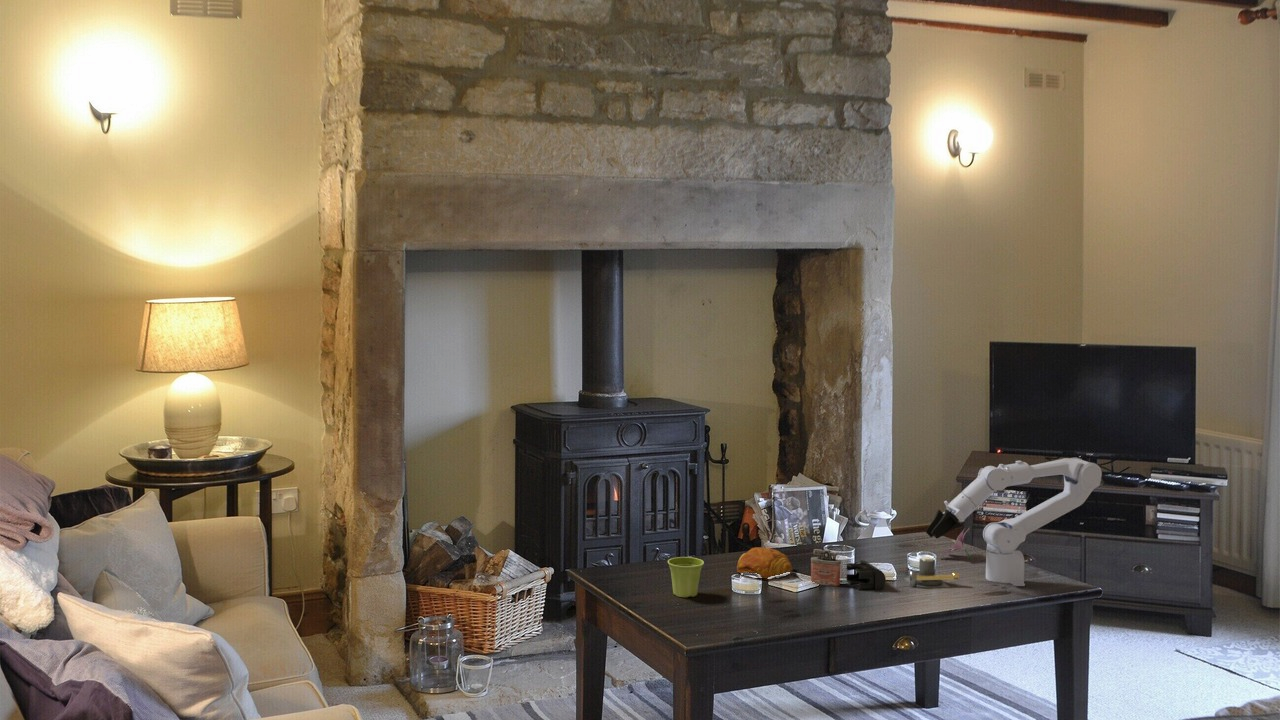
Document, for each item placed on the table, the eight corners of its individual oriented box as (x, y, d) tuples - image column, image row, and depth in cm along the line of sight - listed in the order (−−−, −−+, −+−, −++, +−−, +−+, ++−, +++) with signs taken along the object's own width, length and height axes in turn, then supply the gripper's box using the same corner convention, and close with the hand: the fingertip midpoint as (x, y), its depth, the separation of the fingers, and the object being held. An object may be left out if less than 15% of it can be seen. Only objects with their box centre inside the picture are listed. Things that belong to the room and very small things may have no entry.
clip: (957, 584, 296) (957, 569, 296) (960, 586, 295) (960, 571, 294) (908, 585, 295) (908, 570, 295) (910, 587, 293) (911, 572, 293)
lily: (965, 555, 336) (950, 527, 337) (993, 548, 326) (977, 519, 327) (941, 574, 330) (925, 544, 330) (969, 567, 320) (952, 537, 321)
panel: (952, 581, 304) (952, 576, 304) (971, 594, 291) (971, 590, 291) (894, 582, 303) (894, 577, 302) (911, 596, 290) (911, 591, 290)
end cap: (885, 594, 291) (886, 568, 291) (860, 595, 290) (860, 570, 289) (870, 584, 301) (871, 559, 301) (845, 585, 300) (846, 560, 299)
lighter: (841, 587, 297) (842, 550, 297) (838, 590, 294) (839, 553, 294) (812, 583, 301) (813, 546, 300) (808, 586, 298) (809, 549, 297)
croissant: (757, 571, 321) (755, 543, 322) (801, 574, 310) (798, 545, 311) (724, 579, 311) (722, 550, 311) (768, 583, 300) (765, 552, 300)
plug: (935, 578, 303) (936, 554, 302) (946, 586, 295) (947, 561, 294) (907, 578, 302) (907, 554, 301) (917, 586, 294) (918, 562, 293)
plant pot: (707, 591, 292) (708, 558, 292) (697, 601, 284) (698, 567, 283) (673, 588, 296) (673, 555, 295) (662, 597, 287) (662, 564, 286)
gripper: (951, 489, 307) (915, 522, 307) (964, 489, 293) (926, 524, 292) (969, 508, 306) (933, 542, 306) (983, 509, 292) (945, 545, 292)
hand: (931, 535), depth 299 cm, fingers open, 7 cm apart
